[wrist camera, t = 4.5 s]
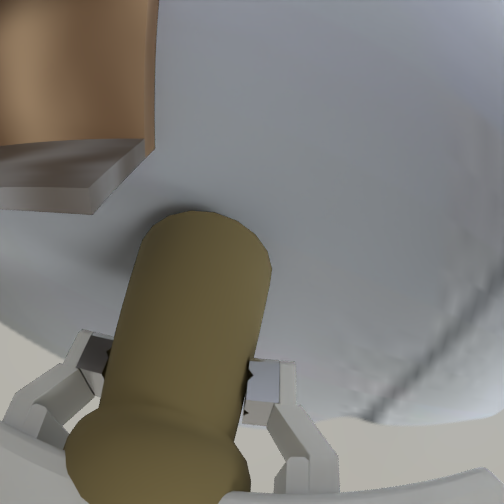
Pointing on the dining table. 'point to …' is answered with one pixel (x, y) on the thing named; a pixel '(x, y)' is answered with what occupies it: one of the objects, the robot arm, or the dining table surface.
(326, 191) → the dining table surface
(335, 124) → the dining table surface
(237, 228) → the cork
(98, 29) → the slot rack
